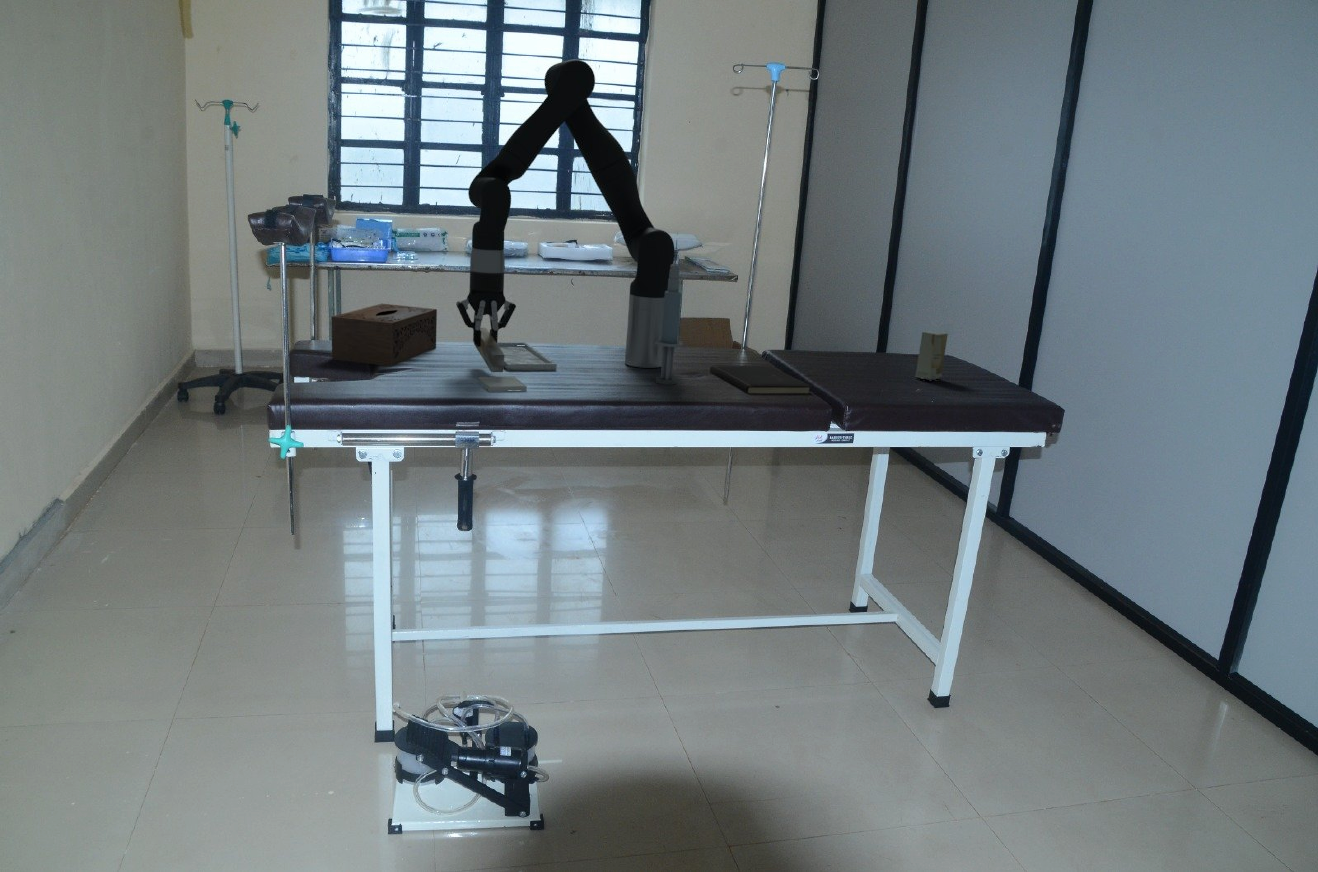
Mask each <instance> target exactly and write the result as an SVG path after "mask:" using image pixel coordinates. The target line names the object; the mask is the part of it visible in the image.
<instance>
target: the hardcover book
mask: <svg viewBox="0 0 1318 872" xmlns="http://www.w3.org/2000/svg"><path fill="white" fill-rule="evenodd" d="M709 373H711V374H712V375H714V376H716V377H717V378H719V379H720V380H723V381H724V382H726V383H728V384H730V385H731V386H733V387H735V388H736V389H738V390H740V391H742V392H743V393H745V394H747V395H748V394H809V393H810V388H812V385H810V384H808V383H806V382H805V381H802V380H800V379H797V378H796V377H794V376H791V375H789V374H787V373H785V372H783V371H781V370H780V369H777V368H775V367H773V366H771V365H733V364H731V365H720V364H718V365H717V364H715V365H714V364H713V365H711V366H710V369H709Z"/></svg>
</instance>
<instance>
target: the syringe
mask: <svg viewBox="0 0 1318 872" xmlns="http://www.w3.org/2000/svg"><path fill="white" fill-rule="evenodd" d="M676 234H678V230H677V233H676ZM675 242H676V243H675V253H674V264H672V265H670V273H669V279H668V290H667V291H665V298H664V311H663V324H662V337H661V340H656V341H655V344H656V345H659V346H663V356H662V367H661V369H660V371H661V372H660V376H656V377H655V383H657V384H660V385H675V384H677V380H678V379H677V378H676V377H673V369H674V367H673V366H674V357H675V355H674V353H675V348H679V347H680V348H681V347H683V346H684V342H683V341H680V340H678V334H679V321H680V310H681V309H680V308H681V301H682V300H681V298H682V292H681V291H680V289H679V288H680V279H679V278H680V277H679V276H680V265H679V264H677V251H678V250H677V248H678V240H676V241H675Z"/></svg>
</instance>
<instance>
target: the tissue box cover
mask: <svg viewBox="0 0 1318 872" xmlns="http://www.w3.org/2000/svg"><path fill="white" fill-rule="evenodd" d="M437 314H438V309H436V308H430V307H429V308H428V307H420V306H419V307H418V306H409V305H400V304H399V305H398V304H389V303H379V304H375V305H371V306H367V307H364V308H360V309H356V310H352V311H349V312H345V313H340V314H337V315H333V316H331V360H333V361H342V362H343V361H344V362H350V363H351V362H352V363H362V364H370V365H379V366H386V367H393V366H395V365H397V364H400V363H403V362H406V361H408V360H410V359H412V358H415V357H418V356H420V355H422V354H425V353H427V351H428V352H429V351H432V350H435V349H437V320H438V319H437V317H438V315H437Z"/></svg>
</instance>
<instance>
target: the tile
mask: <svg viewBox="0 0 1318 872" xmlns="http://www.w3.org/2000/svg"><path fill="white" fill-rule="evenodd" d="M477 382H478V383H479V384H480V385H481V384H482V385H483V386H484V387H483V386H482V385H481V386H482V387H483V388H485V390H487V389H488V390H489V391H508V390H526V391H527V385H526V384H525V383H524V382H522V381H521V380H519V379H518V378H517V377H516V376H509V375H508V376H507V375H506V376H478V377H477ZM488 390H487V391H488ZM489 391H488V392H489ZM508 392H509V391H508Z"/></svg>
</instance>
